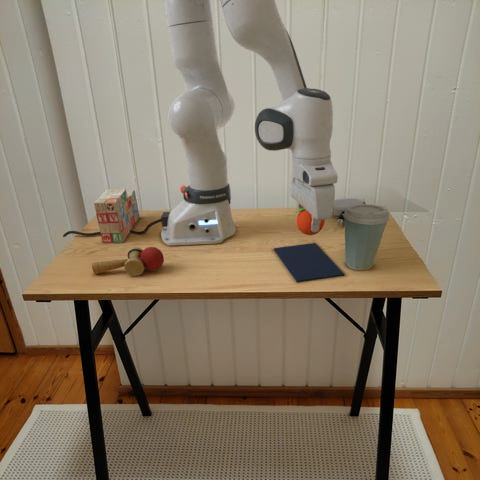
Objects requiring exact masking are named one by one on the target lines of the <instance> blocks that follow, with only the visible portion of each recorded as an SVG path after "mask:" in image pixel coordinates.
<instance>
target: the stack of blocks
mask: <svg viewBox="0 0 480 480" xmlns="http://www.w3.org/2000/svg"><path fill="white" fill-rule="evenodd" d="M93 206H94V209H95V215H96V219H97V223H98V227H99V232H101V234H100V238H101V242H102V243H103V244H112V243H115V244H117V243H120V244H121V243H124V242H125V240H126V239H127V237H128V235H129V234H131V233H130V230H132V229H133V228H134V226H135V225H136V223H137V222H138V220H139V218H140V212H139V205H138V200H137V196H136V190H135V189H127V188H115V189H106V190H104V192H102V194H101V195H100V196H99V197H98V198H97V199H96V200H95V201H94V202H93Z"/></svg>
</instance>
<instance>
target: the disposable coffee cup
mask: <svg viewBox="0 0 480 480" xmlns="http://www.w3.org/2000/svg"><path fill="white" fill-rule="evenodd" d="M388 209H389V208H386V207H385V206H384V207H383V206H381V205H376V204H369V203H368V204H367V203H366V204H358V205H352V206H349V207H348V208H347V209H346V210H345V213H344V216H343V217H344V222H343V223H344V248H345V249H344V251H345V263H346V266H347V267H348V268H350V269H352V270H354V271H355V270H356V271H368V270H369V269H371V268H372V266H373V265H374V263H375V260H376V257H377V254H378V251H379V248H380V245H381V242H382V238H383V235H384V232H385V230H386V226H387V222H389V221H390V212H389V211H388Z"/></svg>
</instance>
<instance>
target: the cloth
mask: <svg viewBox="0 0 480 480" xmlns="http://www.w3.org/2000/svg"><path fill="white" fill-rule="evenodd" d="M273 251H274V253H276V255H277V256H278V257H279V259H280V261H281V262H282V264H283V265H284V266H285V267H286V269H287V270H288V271H289V273H290V275H291V276H292V277H293V279H294V280H295V281H296V283H301V282H307V281H308V282H309V281H315V280H322V279H330V278H337V277H344V276H345V273H344V272H343V271H342V270H341V269H340V268H339V267H338V266H337V264H336V263H335V262H334V261H333V260H332V259H331V258H330V256H328V255H327V254H326V253H325V251H324V250H322V249H321V247H320V246H319V245H318V244H317V243H316V242H312V243H305V244H296V245H289V246H280V247H274V248H273Z"/></svg>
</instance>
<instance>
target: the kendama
mask: <svg viewBox="0 0 480 480" xmlns="http://www.w3.org/2000/svg"><path fill="white" fill-rule="evenodd" d="M164 262H165V257H164V254H163V251H161V249H159V248H158V247H156V246H148V247H146V248H144V249H142V248H141V247H138V246H133V247H131V248H130V249H129V250H128V252H127V259H126V258H123V259H113V260H105V261H104V260H103V261H95V262H92V263H91V269H92V273H93V274H94V275H98V274H101V273H105V272H108V271H113V270H118V269H121V268H123V267H124V268H123V269H124V271H125V273H126V274H127V275H129V276H132V277H137V276H140V275H142V274H143V273H144V270H147V271H150V272H151V271H152V272H153V271H157V270H159V269H161V267H163V264H164Z"/></svg>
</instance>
